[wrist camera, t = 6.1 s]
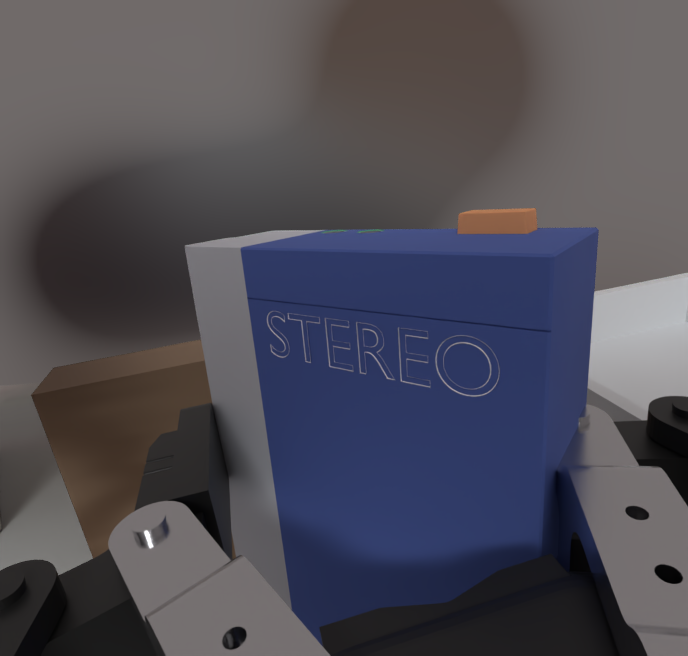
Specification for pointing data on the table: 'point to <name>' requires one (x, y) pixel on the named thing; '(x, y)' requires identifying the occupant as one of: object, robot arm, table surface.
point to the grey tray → (638, 346)
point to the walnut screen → (116, 426)
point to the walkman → (395, 401)
